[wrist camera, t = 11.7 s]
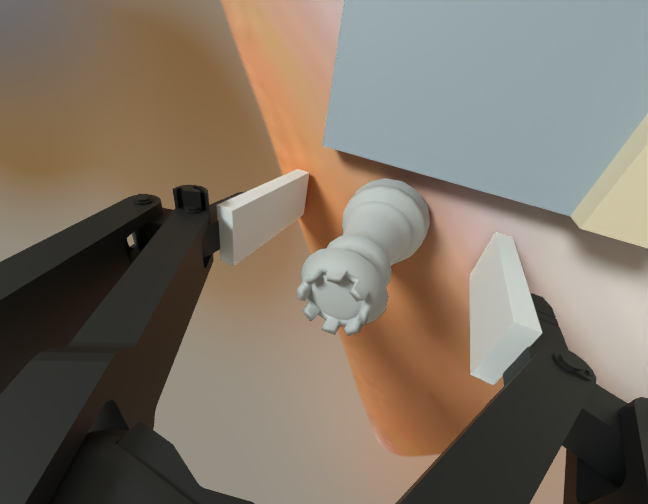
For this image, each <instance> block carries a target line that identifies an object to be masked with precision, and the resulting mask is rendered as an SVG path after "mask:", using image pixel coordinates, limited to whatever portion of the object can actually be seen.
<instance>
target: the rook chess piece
mask: <svg viewBox="0 0 648 504" xmlns="http://www.w3.org/2000/svg"><path fill="white" fill-rule="evenodd" d="M429 225H430V217H429V211H428V205H427V204H426V203H425V201H424V200H423V198H422V197H421V195H420V194H419V192H418V191H417V190H415V189H414V188H412V187H411V186H409V185H408V184H406V183H404V182H403V181H398V180H392V179H387V178H384V179H380V180H375V181H371V182H368V183H367V184H365V185H364V186H363V187H361V188H360V189H358V190H357V191H356V192H355V194H354V196H352V197H351V199H350V201H349V203H348V204H347V206H346V208H345V210H344V213H343V223H342V228H343V235H342V236H339V237H338V238H336V239H335V240H333V241H331V242H330V243H329V245H328V246H327V248H326V249H320V250H318V251H316V252H315V253H313V254H312V255H310V256H308V258H307V260H306V261H305V263H304V265H303V267H302V273H301V276H302V277H301V283H302V284H301V285H300V286H299V287H298V289H297V294H298V295H297V296H298V297H297V299H298V300H303V301H305V300H306V299H307V301H308V304H307V305H306V307H305V308H304V309H303V310H302V312H303V313H304V314H305V315H306V316H307V318H308V319H309V320H310V321H312V320H313V319H314V318H315V317H316V316H317V314H318V315H320V316H321V317H322V318H324V319H325V320H326V322H325V324H324V326H323V328H322V330H324V331H327V332H329V333H331V334H334V335H335V334H336V332H337V330H338V328H339V327H340V326H345V328H344V330H345V332H346V334H347V335H348V336H349V335H353V334H356V333H359V331H360V329H361V327H362V325H364V324H366V325H367V323H370V322H373V321H376V320H377V319H378V318H379V317H380V316H381V315H382V314H383V313H384V312H385V309H386V305H387V301H388V297H389V296H388V293H387V289H386V286H387V285H388V284H389V282H390V277H391V273H392V271H391V266H392V264H396V263H398V262H401V261H403V260H405V259H407V258H409V257H411V256H412V255H413V254H414V253H415V252H416V250H417V249H418V248H419V247H420V246H421V245H422V243H423V240H424V239H425V237H426V235H427V231H428V228H429Z"/></svg>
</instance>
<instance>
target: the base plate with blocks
mask: <svg viewBox="0 0 648 504" xmlns="http://www.w3.org/2000/svg"><path fill="white" fill-rule="evenodd" d="M323 146H325V147H328V148H332V149H335V150H339V151H342V152H346V153H349V154H353V155H356V156H360V157H363V158H367V159H370V160H374V161H377V162H381V163H384V164H388V165H391V166H395V167H398V168H402V169H405V170H409V171H412V172H416V173H420V174H423V175H427V176H430V177H434V178H437V179H441V180H444V181H448V182H451V183H455V184H458V185H462V186H465V187H469V188H472V189H476V190H479V191H483V192H486V193H490V194H493V195H497V196H500V197H504V198H507V199H511V200H514V201H518V202H521V203H525V204H528V205H532V206H535V207H539V208H542V209H546V210H549V211H553V212H556V213H560V214H563V215H567V216H570V217H571V218H572V219H573V221H574V222H575V223H576V224H577V226H578V227H579V228H580V229H583V230H586V231H590V232H593V233H597V234H600V235H603V236H607V237H610V238H614V239H617V240H620V241H624V242H627V243H631V244H634V245H638V246H641V247H644V248H648V0H344V7H343V13H342V20H341V27H340V33H339V40H338V47H337V53H336V60H335V67H334V73H333V80H332V86H331V93H330V100H329V106H328V113H327V120H326V126H325V133H324V140H323Z"/></svg>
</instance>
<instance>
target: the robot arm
mask: <svg viewBox="0 0 648 504" xmlns="http://www.w3.org/2000/svg"><path fill="white" fill-rule="evenodd" d="M308 179H309V172H306V171H303V170H300V169H297V170H294V171H292V172H290V173H288V174H285V175H283V176H281V177H278V178H276V179H274V180H272V181H270V182H268V183H265V184H263V185H261V186H258V187H256V188H254V189H252V190H249V191H246V192H240V193H236V194H234V195H231V196H230V197H227V198H225V199H224V200H223V199H222V200H220V201H217V202H215V203H213V204H211V205H209V199H208V190H207V189H206V188H204V187H202V186H197V185H182V186H179V187H176V188H174V189H173V195H174V201H175V207H176V208H175V209H174V210H171V209H166V208H162V204H161V199H160V198H159V197H157V196H154V195H148V194H138V195H134V196H131V197H128V198H126V199H124V200H122V201H120V202H118V203H116V204H114V205H112V206H110V207H108V208H106V209H104V210H102V211H100V212H98V213H96V214H94V215H92V216H90V217H88V218H86V219H84V220H82V221H80V222H79V223H76V224H75V225H72V226H70V227H68V228H66V229H65V230H63V231H61V232H59V233H57V234H55V235H53V236H51V237H49V238H47V239H45V240H43V241H41V242H39V243H37V244H35V245H33V246H31V247H29V248H27V249H25V250H23V251H21V252H19V253H17V254H15V255H13V256H11V257H9V258H7V259H5V260H3V261H1V262H0V504H254V503H253V502H250V501H247V500H243V499H240V498H236V497H233V496H229V495H226V494H222V493H219V492H215V491H212V490H208V489H205V488H203V487H201V486H200V485H199V484H198V483H197V481H196V480H195V478H194V477H193V475H192V474H191V472H190V470H189V469H188V467H187V466H186V464H185V463H184V461H183V460H182V458H181V457H180V455H179V453H178V452H177V450H176V449H175V447H174V446H173V444H171V443H170V442H169V441H167V440H166V439H165V438H163V437H162V436H160V435H159V434H158V433H156V432H155V431H154V430H153V427H154V417H155V410H156V406H157V403H158V400H159V398H160V395H161V393H162V390H163V388H164V385H165V383H166V380H167V377H168V375H169V372H170V370H171V367H172V365H173V362H174V359H175V357H176V355H177V352H178V350H179V347H180V344H181V342H182V339H183V337H184V334H185V332H186V329H187V326H188V324H189V322H190V319H191V316H192V314H193V311H194V309H195V306H196V304H197V301H198V299H199V296H200V294H201V291H202V288H203V286H204V283H205V281H206V278H207V276H208V273H209V271H210V268H211V266H212V263H213V253H214V252H216V251H218V250H219V249H220V260H221V261H224V262H226V263H228V264H230V265H232V266H235V265H236V264H238V263H239V262H240V261H242V260H243V259H244V258H246V257H247V256H248V255H250V254H251V253H252V252H254V251H255V250H256V249H258V248H259V247H261V246H262V245H263V244H265V243H266V242H267V241H269V240H270V239H271V238H273V237H274V236H275V235H277V234H278V233H279V232H281V231H282V230H284V229H285V228H286V227H288V226H289V225H290V224H292V223H293V222H294V221H296V220H297V219H298V218H300V217H301V216H303V215H304V209H305V202H306V194H307V187H308ZM130 234H132V236H133V240H134V243H135V244H133V245H132V246H130V247H129V245H128V242H127V237H128V236H129V235H130ZM555 318H556V317H555V314H554V312H553V309H552V307H551V306H550V305H549V304H548V303H547V302H546V301H545V299H544V298H543V297H540V296H537V295H535V294H532V293H530V291H529V288H528V285H527V282H526V278H525V275H524V272H523V269H522V265H521V262H520V259H519V256H518V253H517V249H516V246H515V243H514V240H513V237H511V236H508V235H505V234H501V233H498V232H495V233H494V235H493V237H492V239H491V240H490V242H489V244H488V245H487V247H486V249H485V250H484V252H483V254H482V255H481V257H480V259H479V260H478V262H477V264H476V265H475V267H474V269H473V270H472V272H471V274H470V375H472V376H474V377H476V378H479V379H481V380H483V381H485V382H487V383H490V384H492V385H494V384H495V383H496V382H497V381H498V380H499V379H500V378H501V377H502V376H503V379H504V387H503V388H502V389H501V390H500V391H499V392H498V393H497V394H496V395H495V396H494V397H493V399H492V400H491V401H490V402H489V403H488V404H487V405H486V406H485V407H484V409H483V410H482V411H481V412H480V413H479V414H478V415H477V416H476V417H475V418H474V419H473V420H472V421H471V423H470V424H469V425H468V426H467V427H466V428H465V429H464V430H463V431H462V432H461V433H460V434H459V436H458V437H457V438H456V439H455V440H454V441H453V442H452V443H451V444H450V445H449V446H448V447H447V448H446V450H445V451H444V452H443V453H442V454H441V455H440V456H439V457H438V458H437V459H436V460H435V462H434V463H433V464H432V465H431V466H430V467H429V468H428V469H427V470H426V471H425V472H424V473H423V474H422V476H421V477H420V478H419V479H418V480H417V481H416V482H415V483H414V484H413V485H412V486H411V487H410V488H409V490H408V491H407V492H406V493H405V494H404V495H403V496H402V497H401V498H400V499H399V500H398V501H397V502H396V504H530V502H531V500H532V498H533V496H534V494H535V492H536V491H537V489H538V487H539V485H540V484H541V482H542V480H543V478H544V476H545V475H546V473H547V471H548V469H549V467H550V465H551V463H552V462H553V460H554V458H555V456H556V455H557V453H558V451H559V449H560V447H561V446H564V447H565V448H566V449H567V450H566V467H565V485H564V501H563V504H648V398H644V397H640V398H637V399H635V400H633V401H632V402H630V403H626V402H624V401H623V400H621V399H620V398H618V397H616V396H615V395H613V394H611V393H610V392H608V391H606V390H605V389H603V388H602V387H600V386H599V385H597V384H596V376H595V374H594V372H593V370H592V369H591V368H590V367H589V366H588V365H587V364H586V362H585V361H583V360H582V359H581V358H580V357H578V356H577V355H576V354H574V353H573V352H571V351H569V350H568V348H567V345H566V343H565V340H564V337H563V335H562V332H561V330H560V327H558V326H559V325H558V322H557V320H556V319H555Z"/></svg>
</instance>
